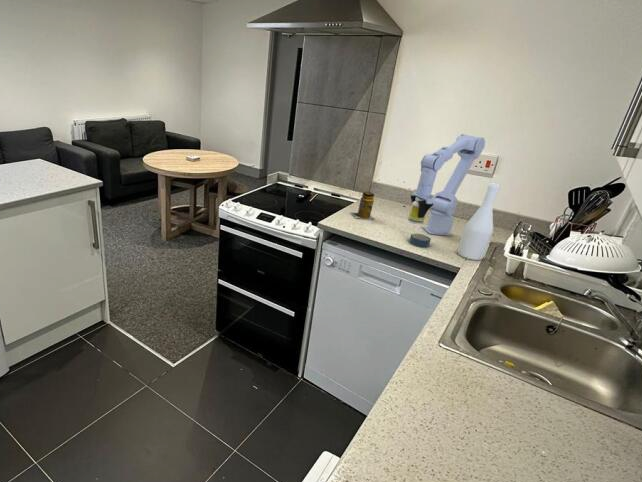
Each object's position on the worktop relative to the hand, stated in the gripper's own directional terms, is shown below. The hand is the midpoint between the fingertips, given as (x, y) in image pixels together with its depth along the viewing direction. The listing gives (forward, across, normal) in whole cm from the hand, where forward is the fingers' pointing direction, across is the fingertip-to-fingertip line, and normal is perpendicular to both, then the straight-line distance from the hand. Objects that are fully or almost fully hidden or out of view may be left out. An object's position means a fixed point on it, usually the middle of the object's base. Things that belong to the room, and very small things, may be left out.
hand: (417, 214), depth 167 cm
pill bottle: (+4, 0, 0) cm, 4 cm away
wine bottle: (+11, +16, +18) cm, 26 cm away
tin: (+10, +7, +1) cm, 12 cm away
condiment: (+11, -23, -16) cm, 30 cm away
